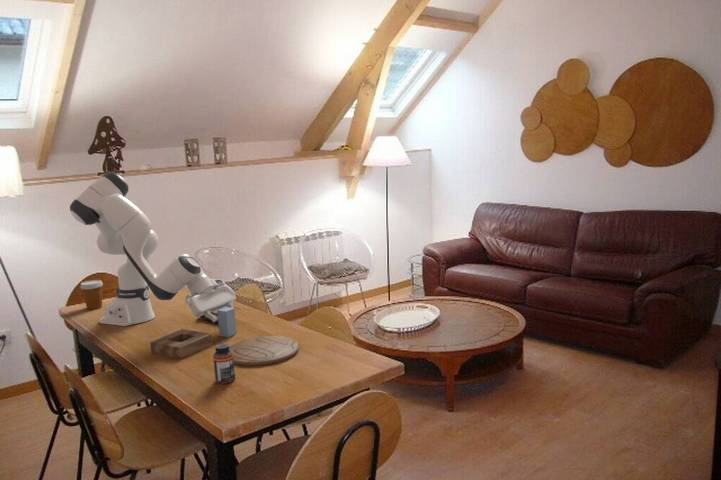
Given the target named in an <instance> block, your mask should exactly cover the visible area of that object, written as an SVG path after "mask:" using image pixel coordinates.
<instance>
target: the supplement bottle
mask: <svg viewBox="0 0 721 480" xmlns="http://www.w3.org/2000/svg"><path fill="white" fill-rule="evenodd" d="M229 347H230V345H229V344H228V343H219V344H216V346H215V348H214V349H215V352H214V353H213V354H212V355H213V356H212V357H213V367H214V376H215V382H216V383H217V384H220V385H223V384H225V385H226V384H230V383H232V382H233V381H235V379H236V373H235V372H236V371H235V364H234V360H233V353H232V351H230V350H229Z"/></svg>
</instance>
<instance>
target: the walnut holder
mask: <svg viewBox="0 0 721 480" xmlns="http://www.w3.org/2000/svg"><path fill="white" fill-rule="evenodd" d="M149 343H150V344H149V345H150V353H152V354H156V355H161V356H165V357H170V358H171V357H172V358H176V359H181V360H182V359H185V358H187V357H189V356H191V355H193V354H195V353H197V352H199V351H202V350H204V349H206V348H208V347H210V346H212V345H214V344H213V343H214V341H213V333H209V332H203V331H198V330H197V331H196V330H191V329H185V328H181V329H178V330H175V331H174V332H171V333H169V334H166V335H164V336H161V337H158V338H156V339H154V340H152V341H150V342H149Z"/></svg>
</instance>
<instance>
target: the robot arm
mask: <svg viewBox="0 0 721 480" xmlns="http://www.w3.org/2000/svg"><path fill="white" fill-rule="evenodd" d="M128 192H129V185H128V183H127V181H126V179H124V177H122V176H121V175H120V174H118V173H117V172H112V171H109V172H107V173H104V174H102V175H101V177H99V178H98V179H96V180H95V181H94V182H92V183H91V184H90V185H89V186H88V187H87V188H86V189H85V190H84V191H82V193H80V194H79V196H78V197H77V198H76V199H73V201H72V202H71V203H70V204H69V211H70V212H71V214H72V216H73V218H74V219H75V221H77V222H79V223H81V224H83V225H86V226H91V225H95V226H96V227H97V229H98V230H99V232H100V233H99V234H98V236H97V240H96V244H97V247H98V249H99V251H100V252H101V253H104V254H107V255H113V256H114V255H115V256H120V255H122V256H126V262H125V263H123V264H122V265H121V266H119V268H118V270H117V272H116V273H117V278H118V279H117V282H118V288H117V289H115V290H114V294H116V297H115V298H114V299H112V300H111V301H110V303H108V304H107V305H106V306H105V308H104V316H103V317H101V318H100V319H99V321H98V323H100V324H103V325H104V324H105V325H112V326H120V327H121V326H122V327H128V326H131V325H136V324H142V323H146V322H149V321H150V320H153V319H155V318H156V315H155V312H154V310H153V307H152V303H151V300H150V299H151V298H150V291H151V292H152V294H153V295H154V296H155V297H156V298H157V299H158V300H160V301H171V300H173V298H174V297H175V296H176V295H177V294H178V293H179V292H180V291H181V290H183V288H184V287H185V286H186V287H187V289H188V291H189V293H190V294H187V295H186V296H185V300H184V301H185V302H186V304H187V305H188V308H189V309H190V311H191V312H192V314H193V316H195V317H196V318H200V316H202V315H205V316H206V317H207V318H209V319H211V320H212V323H215V322H216V321H217V320H218V318H217V316H216V315H215V316H214V315H212V314H211V312H215V311H217V310H219V309H222V308H224V307H230V308H234V303H235V302H236V300H237V296H236V294H235V292H233V290H232V289H231V287H229V286H228V285H226V284H225V282H226V281H224V280H223V279H220V278H219V279H217V278H210V277H209V276H208V275H207V274H206V273H205V272H204V270H203V268H202V266H200V264H199V263H198V262H197V260H196V259H195V258H193V257H192V256H190V254H188V253H181V254H178V256H176V257H175V258H174V259H173V260H172V262H171V263H170V264H168V265H167V266H166V267H165V268H164V269H163V270H161V272H160V273H156V272H155V271H154V269H153V268H152V267H151V266H150V263H148V260H149V258H150V256H151V255H152V254H153V253H155V251H156V250H157V248H158V246H159V242H160V241H159V236H158V234H157V233H156V231H154V230H153V229H152V223H151V221H150V219H149V217H148V216H147V215H146V214H145V213H144V212H143V211H142V210H141V209H140V208H139V207H138V206H137V205H136V204H134V203H133V202H132V201H130V200H129V199H128V198H126V196H127V194H128ZM211 320H210V321H211ZM216 323H217V322H216Z"/></svg>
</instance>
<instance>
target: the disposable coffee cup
mask: <svg viewBox="0 0 721 480" xmlns="http://www.w3.org/2000/svg"><path fill="white" fill-rule="evenodd" d="M103 286H104V283H103V281H102V280H101V279H93V280H87V281H83V282H81V283H80V286H79V287H80V289H81V291H82V295H83V298H84V303H85V305H86V309H87V310H91V311H92V310H98V309H101V308H102V307H103Z"/></svg>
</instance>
